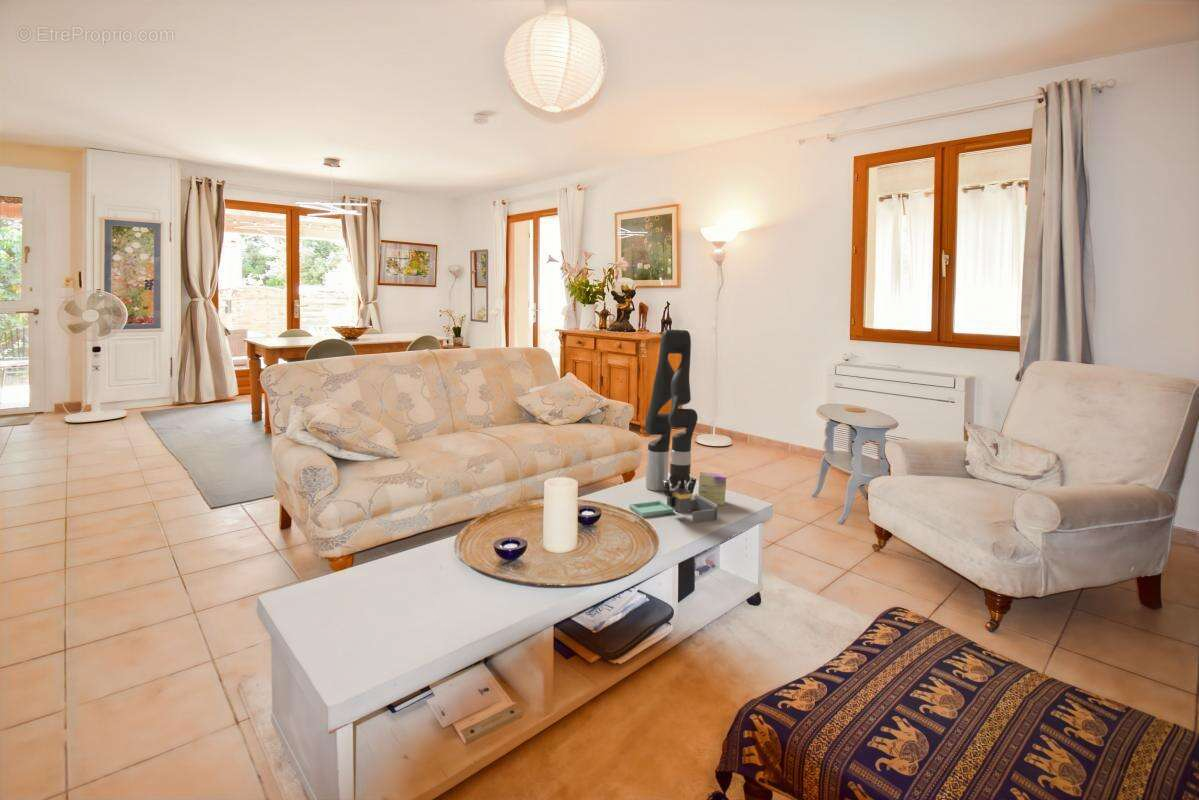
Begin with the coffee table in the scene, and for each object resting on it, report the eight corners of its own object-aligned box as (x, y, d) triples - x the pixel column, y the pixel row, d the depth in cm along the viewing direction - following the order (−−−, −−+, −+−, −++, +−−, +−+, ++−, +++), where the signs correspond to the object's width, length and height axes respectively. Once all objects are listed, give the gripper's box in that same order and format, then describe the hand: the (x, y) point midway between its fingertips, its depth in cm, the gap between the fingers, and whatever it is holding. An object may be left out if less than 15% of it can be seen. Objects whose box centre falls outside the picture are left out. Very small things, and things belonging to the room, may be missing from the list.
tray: (629, 508, 232) (629, 504, 232) (659, 504, 238) (659, 500, 237) (642, 517, 223) (642, 512, 222) (673, 513, 228) (673, 508, 228)
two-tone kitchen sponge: (666, 505, 226) (667, 486, 225) (677, 503, 228) (678, 484, 227) (679, 512, 218) (680, 493, 217) (690, 511, 220) (691, 491, 219)
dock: (674, 510, 231) (675, 496, 230) (696, 508, 235) (697, 494, 234) (694, 523, 219) (694, 507, 218) (716, 519, 223) (717, 505, 222)
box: (723, 500, 245) (725, 473, 243) (724, 505, 239) (726, 477, 237) (697, 499, 246) (699, 471, 244) (698, 503, 240) (700, 475, 238)
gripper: (691, 457, 226) (688, 500, 229) (658, 460, 220) (656, 504, 223) (702, 462, 220) (699, 506, 222) (669, 465, 214) (667, 511, 216)
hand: (678, 505), depth 223 cm, fingers closed on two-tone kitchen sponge, 4 cm apart
